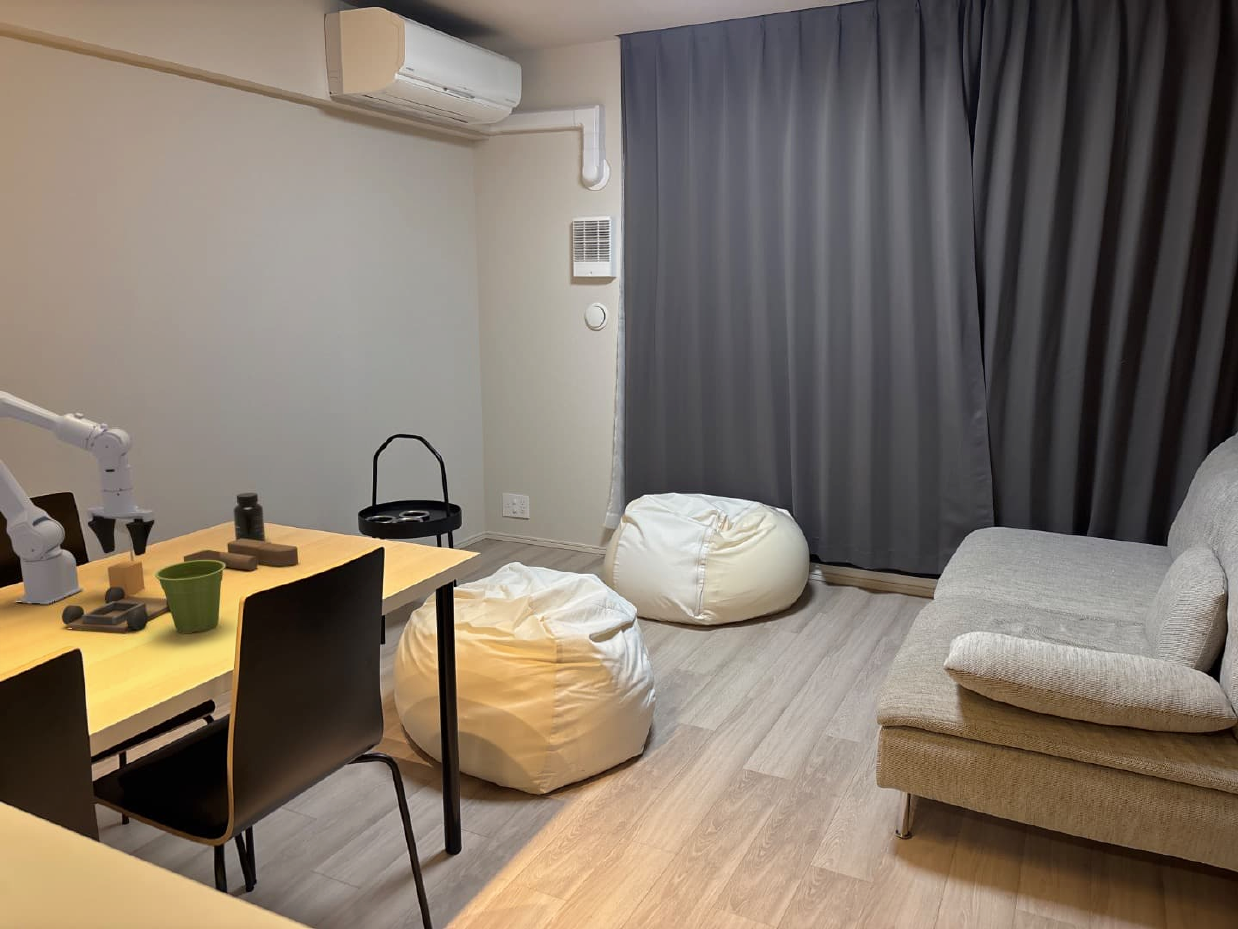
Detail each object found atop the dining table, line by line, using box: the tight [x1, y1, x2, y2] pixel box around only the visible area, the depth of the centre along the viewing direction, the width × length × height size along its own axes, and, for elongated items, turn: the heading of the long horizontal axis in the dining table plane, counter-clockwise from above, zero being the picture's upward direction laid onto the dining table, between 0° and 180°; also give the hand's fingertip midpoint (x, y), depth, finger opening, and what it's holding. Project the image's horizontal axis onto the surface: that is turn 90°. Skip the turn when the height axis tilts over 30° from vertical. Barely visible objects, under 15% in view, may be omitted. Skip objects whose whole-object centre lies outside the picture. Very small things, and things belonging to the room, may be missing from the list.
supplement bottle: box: [232, 492, 266, 541], centre depth 229 cm, size 7×7×12 cm
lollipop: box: [115, 519, 134, 561], centre depth 204 cm, size 6×6×15 cm
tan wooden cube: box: [107, 560, 146, 597], centre depth 191 cm, size 5×4×6 cm
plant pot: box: [154, 560, 227, 634], centre depth 170 cm, size 12×12×11 cm
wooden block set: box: [183, 538, 299, 572], centre depth 207 cm, size 17×6×18 cm
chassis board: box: [61, 586, 170, 634], centre depth 177 cm, size 16×15×4 cm
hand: (124, 553), depth 190 cm, fingers open, 7 cm apart
